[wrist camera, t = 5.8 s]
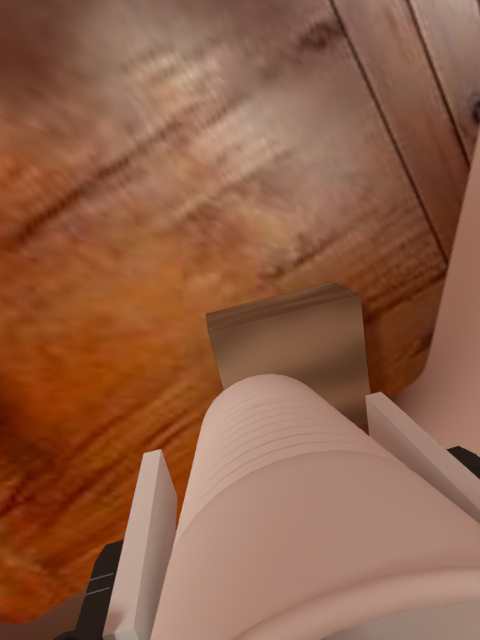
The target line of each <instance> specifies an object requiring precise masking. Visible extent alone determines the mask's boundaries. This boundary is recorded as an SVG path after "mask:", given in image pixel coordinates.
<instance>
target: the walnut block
mask: <svg viewBox="0 0 480 640" xmlns="http://www.w3.org/2000/svg"><path fill="white" fill-rule="evenodd" d="M206 320H207V327H208V333H209V337H210V341H211V344H212V348H213V352H214V356H215V359H216V363H217V367H218V370H219V374H220V378H221V382H222V385H223V389H224V390H226V389H227V388H229V387H230V386H232V385H233V384H235V383H236V382H239V381H241V380H243V379H246V378H249V377H253V376H257V375H265V374H276V375H283V376H288V377H291V378H294V379H296V380H298V381H300V382H302V383H303V384H305V385H307V386H308V387H309V388H311V389H312V390H313V391H314V392H316V393H317V394H318V395H319V396H321V397H322V398H323V399H324V400H325V401H327V402H328V403H329V404H330V405H331V406H333V407H334V408H335V409H336V410H337V411H339V412H340V413H341V414H342V415H343V416H345V417H346V418H347V419H349V420H350V421H351V422H352V423H354V424H355V425H356V426H357V427H359V426H362V425H365V424H368V417H367V407H366V397H365V396H366V395H370V387H369V377H368V367H367V356H366V346H365V336H364V326H363V316H362V306H361V296H360V294H359V293H357V292H354V291H352V290H350V289H348V288H345V287H343V286H341V285H339V284H336V283H334V282H330V283H326V284H322V285H318V286H314V287H310V288H306V289H302V290H298V291H295V292H291V293H287V294H283V295H279V296H275V297H271V298H267V299H263V300H259V301H255V302H251V303H247V304H243V305H239V306H235V307H231V308H227V309H223V310H219V311H215V312H211V313H207V314H206Z"/></svg>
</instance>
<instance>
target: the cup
mask: <svg viewBox="0 0 480 640" xmlns="http://www.w3.org/2000/svg"><path fill="white" fill-rule="evenodd" d="M150 640H480V524H479V523H478V522H476V521H475V520H474V519H473V518H471V517H470V516H469V515H468V514H466V513H465V512H464V511H463V510H462V509H460V508H459V507H458V506H457V505H455V504H454V503H453V502H452V501H450V500H449V499H448V498H447V497H445V496H444V495H443V494H442V493H440V492H439V491H438V490H437V489H435V488H434V487H433V486H432V485H430V484H429V483H428V482H427V481H425V480H424V479H423V478H422V477H420V476H419V475H418V474H417V473H415V472H413V471H412V470H410V469H409V468H408V467H407V466H406V465H405V464H404V463H403V462H401V461H399V460H398V459H396V458H395V457H394V456H393V455H392V454H391V453H390V452H388V451H386V450H385V449H384V448H383V447H382V446H381V445H380V444H378V443H377V442H375V441H374V440H373V439H372V438H371V437H370V436H368V435H367V434H366V433H365V432H364V431H363V430H361V429H360V428H358V427H357V426H356V425H355V424H354V423H352V422H351V421H350V420H349V419H347V418H346V417H345V416H343V415H342V414H341V413H340V412H339V411H337V410H336V409H335V408H334V407H333V406H331V405H330V404H329V403H328V402H327V401H325V400H324V399H323V398H322V397H321V396H319V395H318V394H317V393H316V392H314V391H313V390H312V389H311V388H309V387H308V386H307V385H305V384H303V383H302V382H300V381H298V380H296V379H294V378H291V377H288V376H283V375H276V374H265V375H257V376H253V377H249V378H246V379H243V380H241V381H239V382H236V383H235V384H233V385H232V386H230V387H229V388H227V389H226V390H224V391H223V392H222V393H221V394H220V395H219V396H218V397H217V398H216V399H215V400H214V401H213V403H212V404H211V406H210V407H209V409H208V410H207V413H206V415H205V417H204V420H203V423H202V427H201V431H200V435H199V439H198V443H197V448H196V453H195V457H194V461H193V465H192V470H191V474H190V479H189V482H188V487H187V490H186V495H185V500H184V502H183V507H182V512H181V515H180V520H179V525H178V528H177V532H176V538H175V541H174V544H173V549H172V554H171V558H170V560H169V564H168V568H167V572H166V576H165V580H164V584H163V588H162V593H161V597H160V601H159V605H158V609H157V613H156V617H155V621H154V626H153V630H152V634H151V638H150Z"/></svg>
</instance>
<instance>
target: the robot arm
mask: <svg viewBox="0 0 480 640" xmlns="http://www.w3.org/2000/svg"><path fill="white" fill-rule="evenodd" d="M365 397H366V407H367V417H368V427H369V436H370V437H371V438H372V439H373V440H374V441H375V442H377V443H378V444H380V445H381V446H382V447H383V448H384V449H385V450H386V451H388V452H390V453H391V454H392V455H393V456H394V457H395V458H396V459H398V460H399V461H401V462H403V463H404V464H405V465H406V466H407V467H408V468H409V469H410V470H412V471H413V472H415V473H417V474H418V475H419V476H420V477H422V478H423V479H424V480H425V481H427V482H428V483H429V484H430V485H432V486H433V487H434V488H435V489H437V490H438V491H439V492H440V493H442V494H443V495H444V496H445V497H447V498H448V499H449V500H450V501H452V502H453V503H454V504H455V505H457V506H458V507H459V508H460V509H462V510H463V511H464V512H465V513H466V514H468V515H469V516H470V517H471V518H473V519H474V520H475V521H476V522H478V523H479V524H480V457H478V456H477V455H476V454H474V453H472V452H470V451H468V450H466V449H464V448H462V447H460V446H457V447H453V448H450V449H445V448H444V447H442V446H441V445H440V444H439V443H438V442H437V441H436V440H435V439H433V438H432V437H431V436H430V435H429V434H428V433H427V432H426V431H425V430H423V429H422V428H421V427H420V426H419V425H418V424H417V423H416V422H414V421H413V420H412V419H411V418H410V417H409V416H408V415H407V414H405V413H404V412H403V411H402V410H401V409H400V408H399V407H398V406H397V405H395V404H394V403H393V402H392V401H391V400H390V399H389V398H388V397H386V396H385V395H384V394H383V393H382V392H378V393H374V394H370V395H366V396H365ZM176 510H177V495H176V492H175V489H174V486H173V483H172V480H171V477H170V474H169V471H168V468H167V465H166V462H165V459H164V456H163V453H162V450H161V449H160V450H156V451H152V452H148V453H144V455H143V459H142V464H141V468H140V473H139V477H138V481H137V486H136V490H135V495H134V499H133V503H132V508H131V512H130V517H129V521H128V525H127V530H126V534H125V539H124V540H122V541H118V542H115V543H111V544H107V545H105V547H104V549H103V550H102V552H101V553H100V555H99V557H98V558H97V560H96V561H95V565H94V568H93V571H92V575H91V578H90V580H91V581H90V582H89V585H88V588H87V592H86V597H85V599H84V601H83V606H82V608H81V612H80V615H79V618H78V622H77V625H76V628H75V630H74V631H68V632H65V633H63V634H62V635H60V636H58V637H56V638H55V639H54V640H150V638H151V634H152V630H153V626H154V621H155V617H156V613H157V609H158V605H159V601H160V597H161V593H162V588H163V584H164V580H165V576H166V572H167V568H168V564H169V560H170V558H171V554H172V549H173V544H174V540H175V525H176Z"/></svg>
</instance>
